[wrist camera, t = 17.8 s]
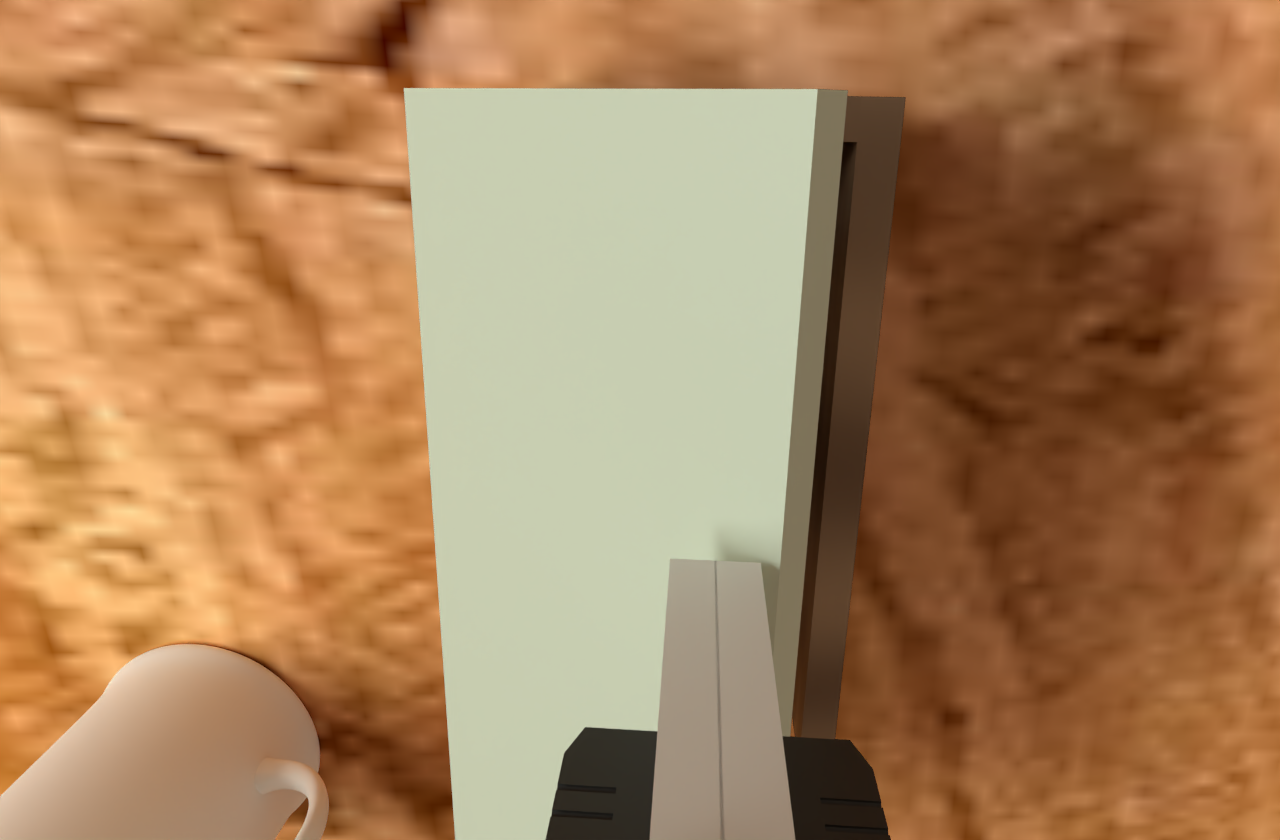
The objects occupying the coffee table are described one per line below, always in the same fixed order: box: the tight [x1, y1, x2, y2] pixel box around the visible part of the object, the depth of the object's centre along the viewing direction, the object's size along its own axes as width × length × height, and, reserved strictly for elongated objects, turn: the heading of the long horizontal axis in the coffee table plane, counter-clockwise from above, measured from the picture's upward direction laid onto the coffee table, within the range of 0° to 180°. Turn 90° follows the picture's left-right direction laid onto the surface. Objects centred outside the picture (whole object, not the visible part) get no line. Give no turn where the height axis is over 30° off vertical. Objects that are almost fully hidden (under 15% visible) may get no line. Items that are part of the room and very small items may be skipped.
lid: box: [404, 88, 848, 840], centre depth 19 cm, size 24×10×2 cm
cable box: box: [792, 96, 906, 739], centre depth 25 cm, size 17×9×7 cm, turn 179°
